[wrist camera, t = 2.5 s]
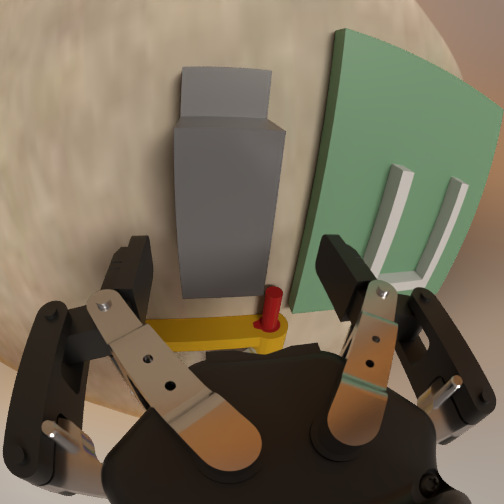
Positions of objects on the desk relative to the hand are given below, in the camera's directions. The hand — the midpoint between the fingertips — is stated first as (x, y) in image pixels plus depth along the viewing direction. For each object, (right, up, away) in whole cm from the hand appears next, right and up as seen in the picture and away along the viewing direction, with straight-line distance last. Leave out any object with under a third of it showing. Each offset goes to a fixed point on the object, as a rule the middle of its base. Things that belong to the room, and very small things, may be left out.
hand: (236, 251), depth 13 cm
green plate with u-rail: (+15, +5, +9) cm, 18 cm away
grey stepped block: (-1, +6, +6) cm, 8 cm away
